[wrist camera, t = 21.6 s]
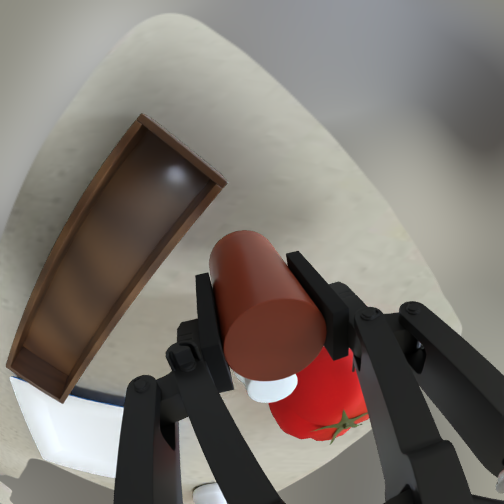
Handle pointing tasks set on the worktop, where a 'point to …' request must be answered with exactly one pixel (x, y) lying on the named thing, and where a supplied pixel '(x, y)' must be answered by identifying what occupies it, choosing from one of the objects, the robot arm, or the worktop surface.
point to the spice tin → (262, 310)
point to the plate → (72, 429)
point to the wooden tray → (109, 253)
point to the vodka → (208, 494)
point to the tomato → (322, 400)
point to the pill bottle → (269, 388)
